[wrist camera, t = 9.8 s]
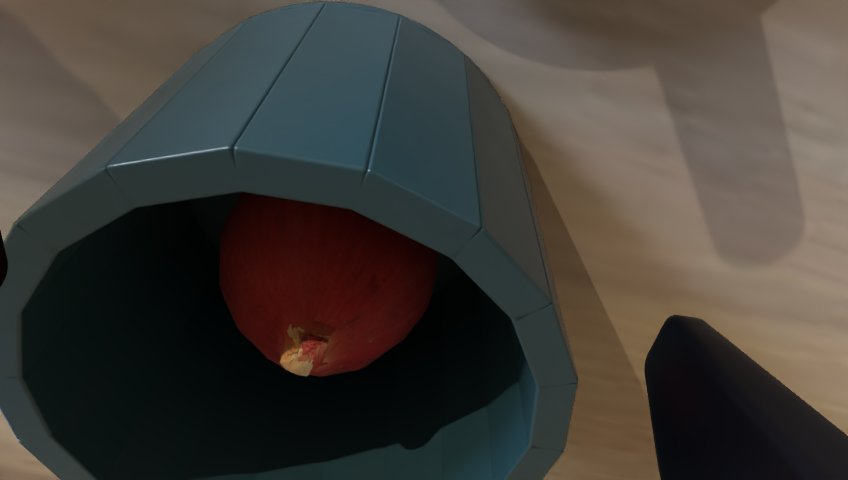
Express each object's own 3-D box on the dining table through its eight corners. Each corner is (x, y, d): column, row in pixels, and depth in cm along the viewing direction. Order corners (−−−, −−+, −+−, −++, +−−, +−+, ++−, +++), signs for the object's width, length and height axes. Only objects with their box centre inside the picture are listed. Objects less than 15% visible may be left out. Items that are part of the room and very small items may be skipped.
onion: (451, 252, 21) (457, 448, 14) (291, 275, 22) (225, 472, 15) (418, 90, 18) (405, 246, 11) (231, 124, 19) (115, 289, 12)
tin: (96, 40, 18) (-176, 210, 10) (504, -35, 16) (562, 93, 9) (234, 335, 24) (134, 583, 16) (536, 299, 23) (588, 550, 15)
